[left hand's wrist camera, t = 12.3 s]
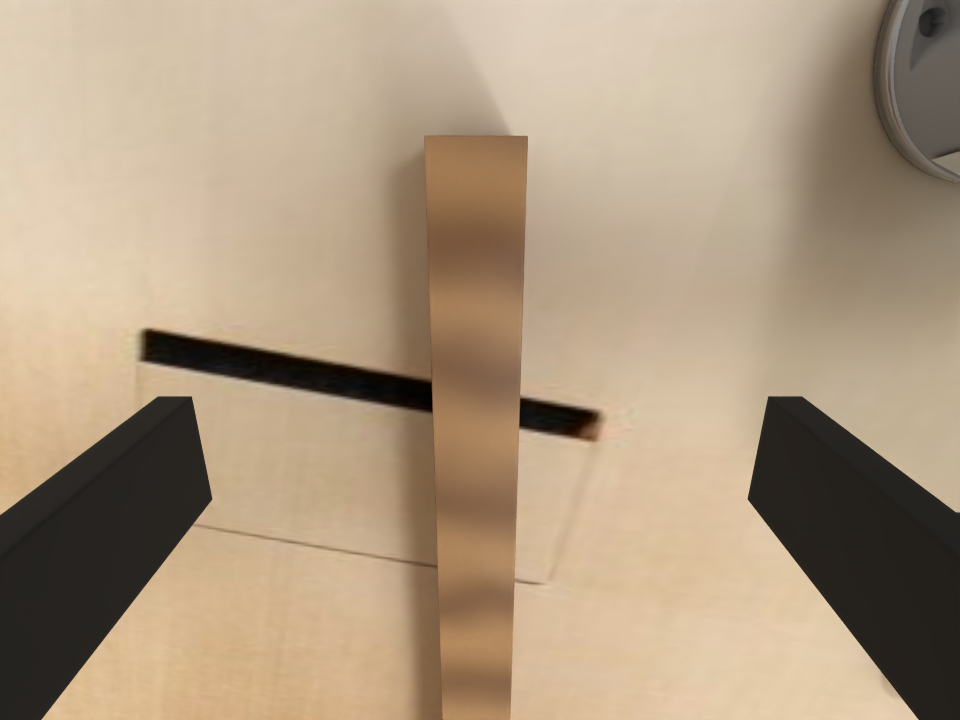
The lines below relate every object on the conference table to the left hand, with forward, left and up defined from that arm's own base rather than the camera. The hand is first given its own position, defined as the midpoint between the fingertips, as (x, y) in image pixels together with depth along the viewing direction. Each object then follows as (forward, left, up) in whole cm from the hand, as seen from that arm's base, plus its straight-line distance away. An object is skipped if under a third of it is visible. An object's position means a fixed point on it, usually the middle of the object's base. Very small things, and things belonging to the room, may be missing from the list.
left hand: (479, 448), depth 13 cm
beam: (+17, +19, -24) cm, 35 cm away
